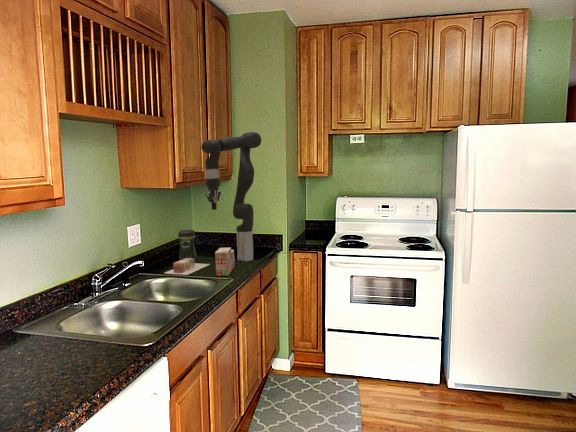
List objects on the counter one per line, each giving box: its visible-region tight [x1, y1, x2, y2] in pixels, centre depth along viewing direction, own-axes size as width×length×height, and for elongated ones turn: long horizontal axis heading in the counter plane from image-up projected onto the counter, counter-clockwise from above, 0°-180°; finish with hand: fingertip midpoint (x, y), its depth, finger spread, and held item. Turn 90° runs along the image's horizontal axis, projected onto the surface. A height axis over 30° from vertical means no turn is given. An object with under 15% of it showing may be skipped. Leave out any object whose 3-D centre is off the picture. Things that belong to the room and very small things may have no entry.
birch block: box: [172, 258, 195, 273], centre depth 230 cm, size 5×5×12 cm
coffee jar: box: [177, 229, 198, 262], centre depth 254 cm, size 10×8×19 cm
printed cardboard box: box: [214, 247, 236, 277], centre depth 230 cm, size 21×6×12 cm, turn 177°
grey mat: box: [164, 262, 211, 276], centre depth 234 cm, size 24×14×1 cm, turn 160°
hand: (214, 209), depth 235 cm, fingers closed
